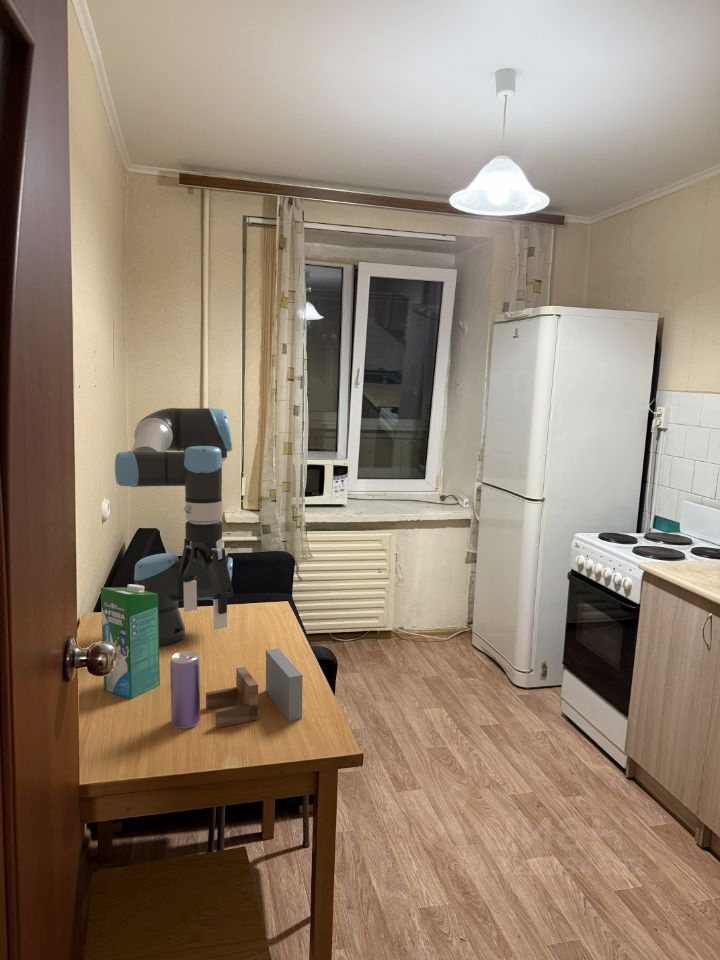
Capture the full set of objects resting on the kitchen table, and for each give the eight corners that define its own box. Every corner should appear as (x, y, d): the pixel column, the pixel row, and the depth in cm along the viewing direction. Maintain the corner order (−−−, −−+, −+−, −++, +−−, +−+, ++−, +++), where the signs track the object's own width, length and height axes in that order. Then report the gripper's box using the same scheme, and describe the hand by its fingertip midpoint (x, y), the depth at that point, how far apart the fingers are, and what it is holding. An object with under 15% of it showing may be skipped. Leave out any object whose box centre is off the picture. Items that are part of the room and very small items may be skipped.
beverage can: (192, 731, 143) (191, 663, 141) (166, 728, 145) (165, 660, 142) (204, 718, 149) (204, 652, 147) (179, 714, 150) (178, 649, 148)
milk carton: (160, 684, 164) (158, 584, 161) (130, 699, 157) (127, 594, 153) (134, 676, 169) (131, 577, 165) (103, 689, 161) (100, 587, 158)
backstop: (265, 690, 163) (265, 650, 161) (277, 688, 164) (278, 648, 163) (289, 721, 149) (289, 677, 147) (302, 718, 150) (302, 675, 149)
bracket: (205, 707, 154) (205, 673, 152) (244, 699, 158) (244, 666, 156) (217, 727, 145) (216, 692, 144) (258, 719, 149) (258, 684, 148)
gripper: (161, 513, 150) (163, 606, 153) (216, 533, 131) (217, 639, 134) (193, 509, 155) (194, 600, 158) (250, 529, 136) (250, 631, 139)
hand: (204, 618), depth 146 cm, fingers open, 13 cm apart
